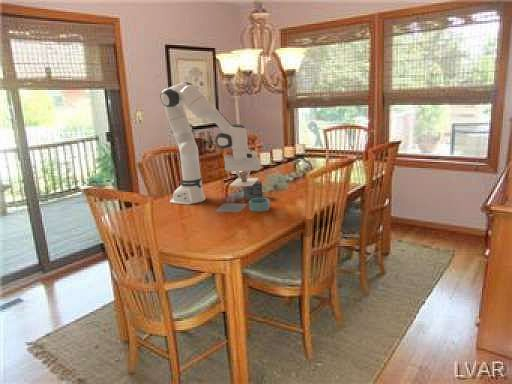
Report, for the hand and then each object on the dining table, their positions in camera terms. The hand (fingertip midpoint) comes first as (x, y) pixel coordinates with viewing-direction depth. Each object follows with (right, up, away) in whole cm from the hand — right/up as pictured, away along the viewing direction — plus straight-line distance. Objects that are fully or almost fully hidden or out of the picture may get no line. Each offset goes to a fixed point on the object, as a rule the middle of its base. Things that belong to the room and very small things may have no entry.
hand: (243, 178), depth 221 cm
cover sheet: (0, -2, +1) cm, 3 cm away
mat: (-7, -17, +8) cm, 20 cm away
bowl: (+9, -17, +3) cm, 20 cm away
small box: (+6, -12, +24) cm, 27 cm away
